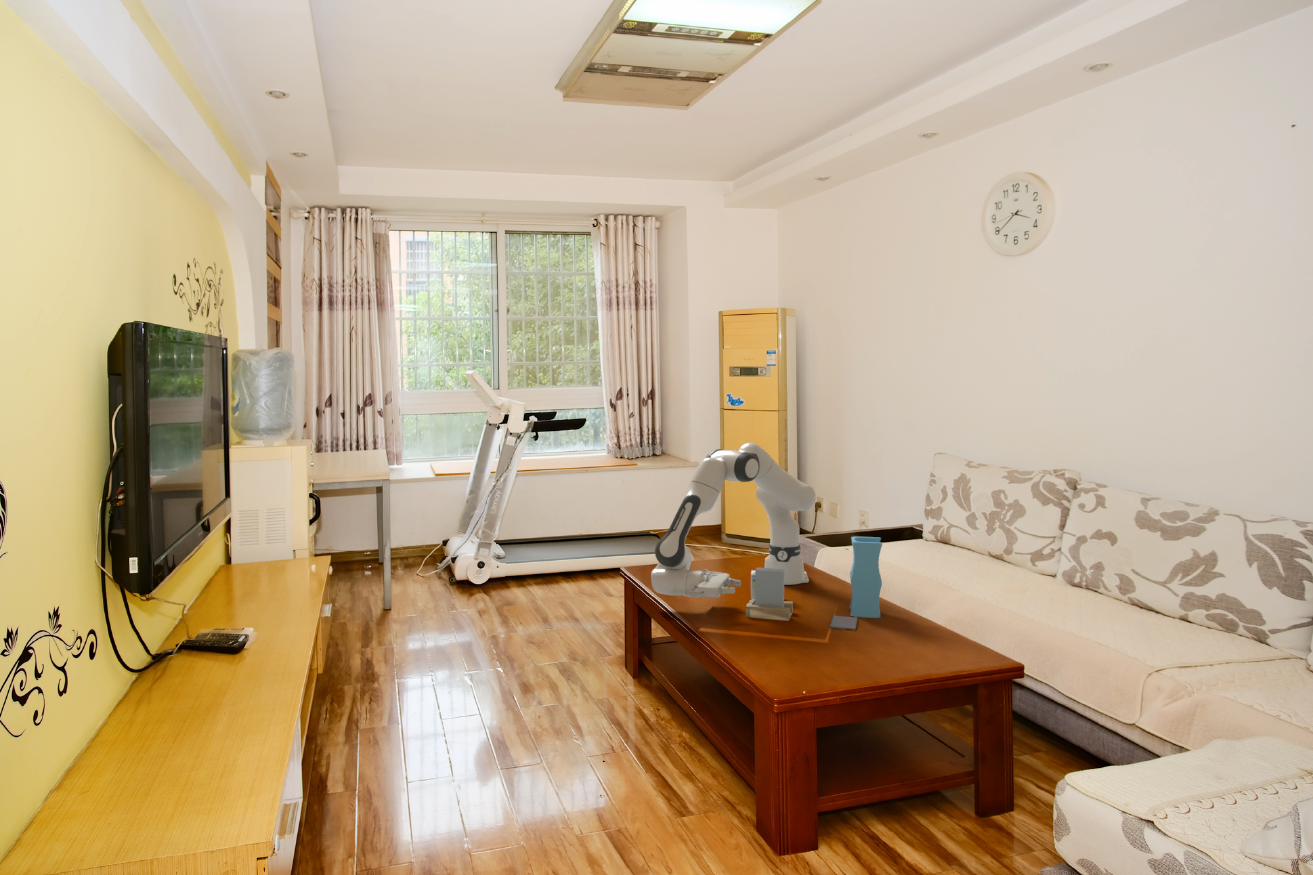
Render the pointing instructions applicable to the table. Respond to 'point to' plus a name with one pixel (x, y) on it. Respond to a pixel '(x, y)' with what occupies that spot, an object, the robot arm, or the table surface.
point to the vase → (865, 577)
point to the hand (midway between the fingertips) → (737, 586)
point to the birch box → (769, 611)
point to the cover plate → (769, 587)
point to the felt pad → (843, 622)
